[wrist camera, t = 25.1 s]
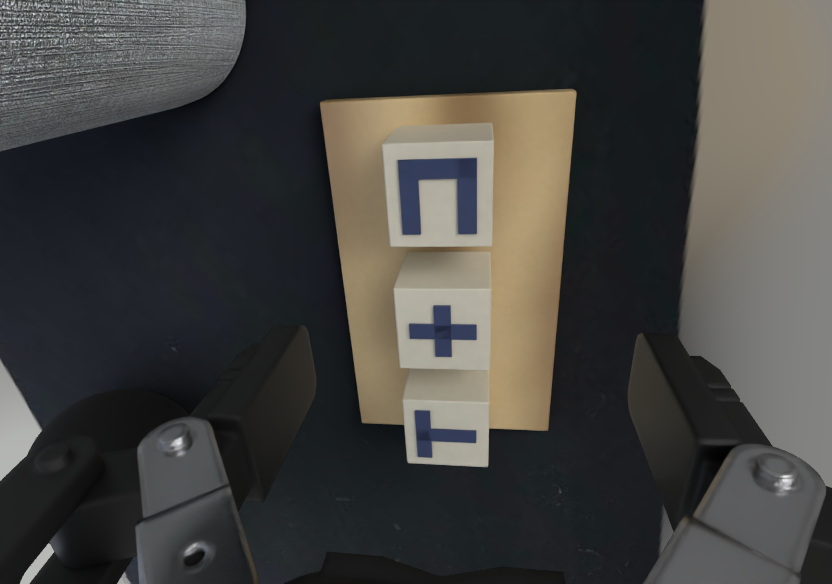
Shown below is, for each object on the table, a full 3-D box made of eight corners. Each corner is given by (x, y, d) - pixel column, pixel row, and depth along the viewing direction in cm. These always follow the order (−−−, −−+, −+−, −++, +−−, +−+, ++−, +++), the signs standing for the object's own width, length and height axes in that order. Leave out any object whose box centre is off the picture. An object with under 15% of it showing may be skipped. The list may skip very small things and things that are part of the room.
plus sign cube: (490, 250, 27) (491, 290, 23) (489, 324, 29) (490, 372, 25) (406, 251, 27) (392, 289, 23) (411, 323, 29) (399, 370, 25)
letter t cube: (488, 353, 30) (489, 404, 25) (487, 413, 32) (488, 469, 28) (412, 351, 30) (401, 401, 26) (416, 410, 32) (406, 465, 28)
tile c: (492, 122, 24) (493, 141, 20) (491, 214, 26) (492, 248, 22) (397, 125, 24) (380, 144, 20) (404, 215, 26) (389, 248, 22)
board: (573, 88, 24) (577, 90, 23) (546, 420, 33) (548, 431, 32) (324, 99, 25) (319, 102, 24) (364, 413, 34) (361, 423, 33)
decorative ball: (200, 352, 33) (98, 467, 25) (249, 463, 38) (177, 595, 29) (72, 365, 35) (-65, 476, 27) (133, 469, 40) (32, 594, 31)
